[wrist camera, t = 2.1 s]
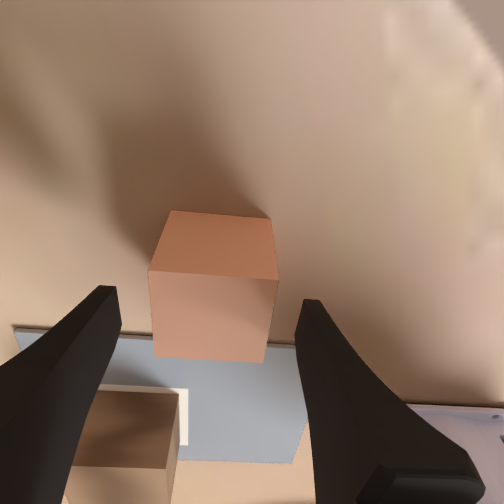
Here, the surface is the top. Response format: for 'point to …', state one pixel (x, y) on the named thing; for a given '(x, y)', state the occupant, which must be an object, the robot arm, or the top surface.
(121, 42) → the top surface
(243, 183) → the top surface
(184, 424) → the mat
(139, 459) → the walnut block
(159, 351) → the terracotta block
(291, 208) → the top surface
